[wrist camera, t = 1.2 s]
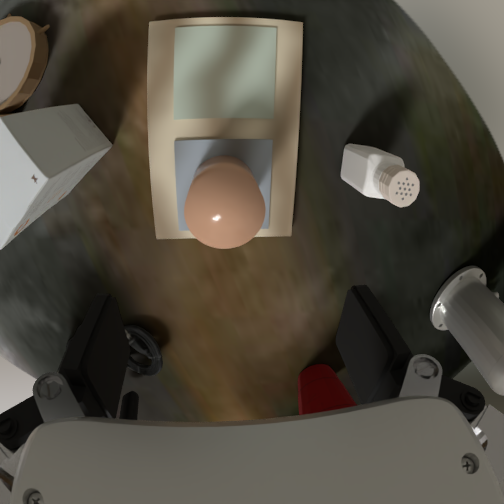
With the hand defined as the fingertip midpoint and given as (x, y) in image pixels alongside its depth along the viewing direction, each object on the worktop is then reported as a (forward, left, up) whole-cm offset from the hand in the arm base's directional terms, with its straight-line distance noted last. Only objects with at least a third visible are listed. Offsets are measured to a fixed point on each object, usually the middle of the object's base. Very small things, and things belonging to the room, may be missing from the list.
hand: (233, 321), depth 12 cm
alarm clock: (+25, -14, -21) cm, 36 cm away
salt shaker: (-14, -2, -21) cm, 25 cm away
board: (0, -5, -20) cm, 21 cm away
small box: (+16, -4, -21) cm, 27 cm away
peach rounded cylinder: (0, 0, -19) cm, 19 cm away
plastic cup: (-14, +31, -21) cm, 39 cm away
